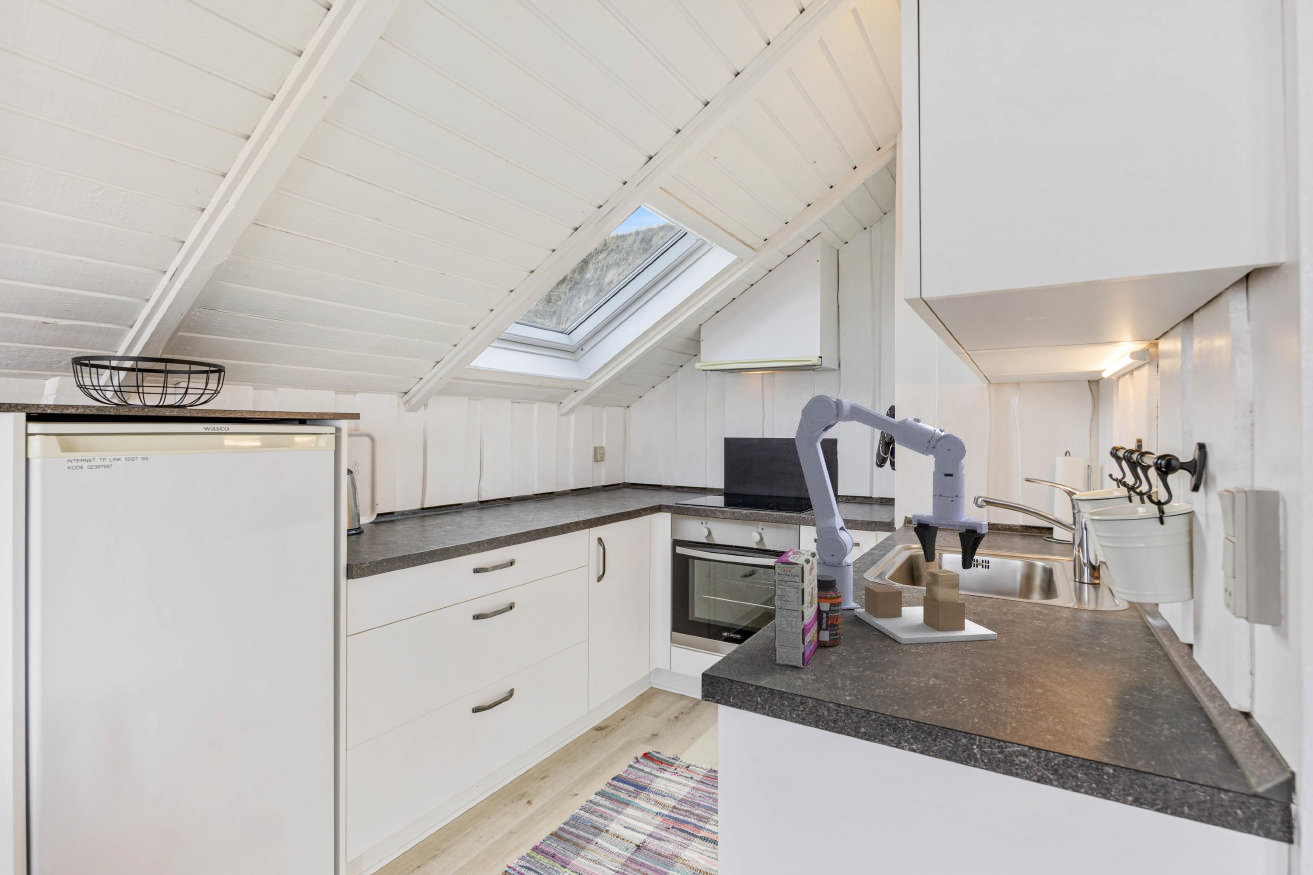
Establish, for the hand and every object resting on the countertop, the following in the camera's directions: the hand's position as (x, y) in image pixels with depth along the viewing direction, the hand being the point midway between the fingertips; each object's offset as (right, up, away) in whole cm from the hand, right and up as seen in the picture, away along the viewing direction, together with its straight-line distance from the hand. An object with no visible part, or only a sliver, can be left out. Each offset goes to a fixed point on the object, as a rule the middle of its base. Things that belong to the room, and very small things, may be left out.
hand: (947, 565), depth 125 cm
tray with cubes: (-7, -10, -5) cm, 14 cm away
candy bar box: (-34, -11, -21) cm, 42 cm away
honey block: (-5, -5, -9) cm, 11 cm away
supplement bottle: (-28, -11, -14) cm, 33 cm away
